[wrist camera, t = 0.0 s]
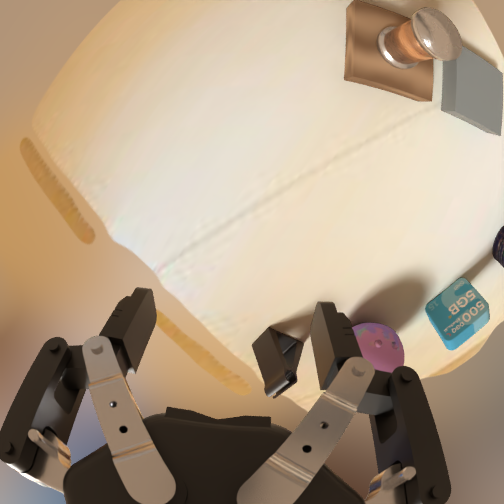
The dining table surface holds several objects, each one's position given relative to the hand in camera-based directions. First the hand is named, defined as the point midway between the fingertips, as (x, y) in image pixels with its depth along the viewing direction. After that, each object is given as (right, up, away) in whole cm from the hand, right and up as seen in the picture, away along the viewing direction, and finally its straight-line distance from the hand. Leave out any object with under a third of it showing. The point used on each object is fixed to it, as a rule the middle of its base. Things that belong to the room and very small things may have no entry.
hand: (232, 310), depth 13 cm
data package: (+44, -7, +36) cm, 57 cm away
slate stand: (+39, +31, +16) cm, 52 cm away
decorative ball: (+23, -15, +40) cm, 49 cm away
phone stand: (+6, -16, +42) cm, 45 cm away
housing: (+21, +31, +12) cm, 39 cm away
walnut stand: (+21, +33, +16) cm, 42 cm away
